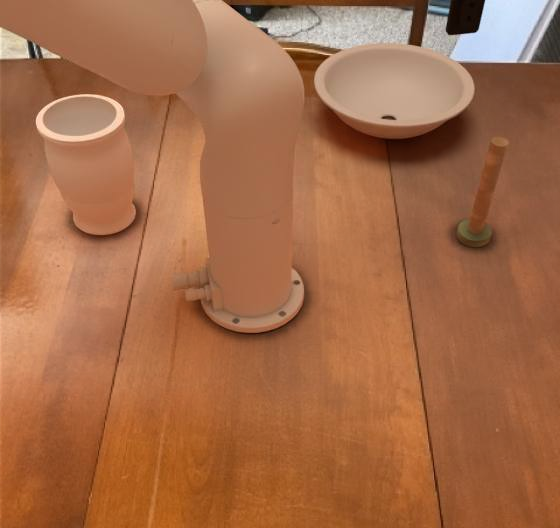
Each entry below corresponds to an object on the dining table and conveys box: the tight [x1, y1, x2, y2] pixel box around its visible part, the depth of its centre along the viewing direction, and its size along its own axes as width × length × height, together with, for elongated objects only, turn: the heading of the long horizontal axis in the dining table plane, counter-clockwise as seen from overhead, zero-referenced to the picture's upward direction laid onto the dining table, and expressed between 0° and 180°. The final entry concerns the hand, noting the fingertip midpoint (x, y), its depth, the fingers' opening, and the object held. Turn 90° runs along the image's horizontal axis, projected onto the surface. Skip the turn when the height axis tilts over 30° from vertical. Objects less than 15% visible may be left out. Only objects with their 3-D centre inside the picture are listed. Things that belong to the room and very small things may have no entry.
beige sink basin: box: [313, 42, 475, 140], centre depth 105 cm, size 24×24×7 cm
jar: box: [35, 93, 137, 236], centre depth 87 cm, size 11×10×15 cm
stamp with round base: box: [455, 136, 510, 248], centre depth 84 cm, size 4×4×14 cm
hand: (443, 10), depth 69 cm, fingers open, 9 cm apart
